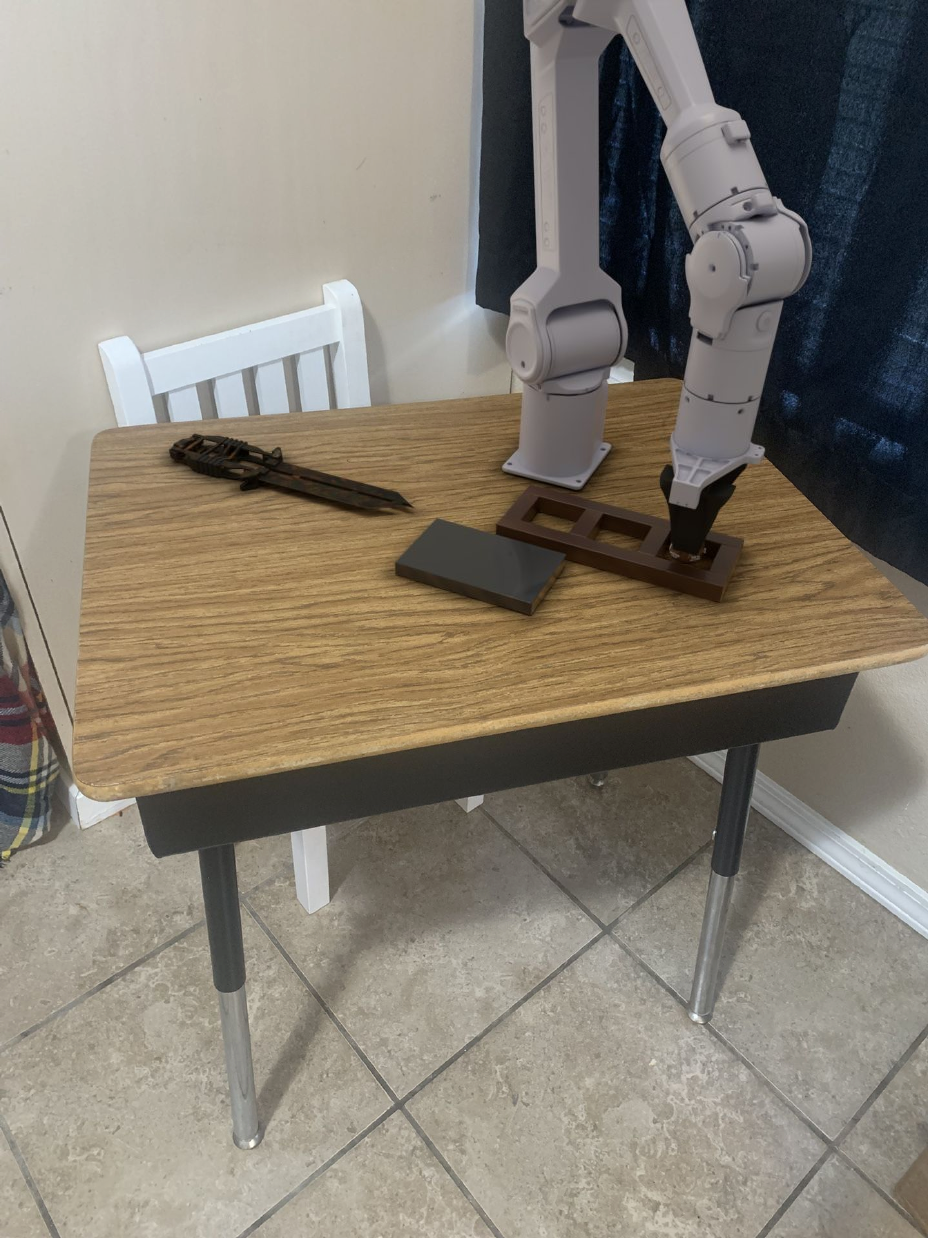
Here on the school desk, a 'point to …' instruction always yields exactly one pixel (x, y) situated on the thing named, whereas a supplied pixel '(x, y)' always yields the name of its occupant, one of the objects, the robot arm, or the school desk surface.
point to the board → (481, 565)
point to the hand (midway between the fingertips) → (690, 540)
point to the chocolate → (686, 555)
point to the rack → (615, 558)
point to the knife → (275, 464)
